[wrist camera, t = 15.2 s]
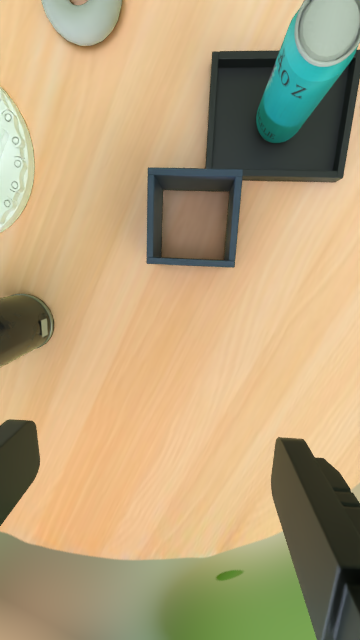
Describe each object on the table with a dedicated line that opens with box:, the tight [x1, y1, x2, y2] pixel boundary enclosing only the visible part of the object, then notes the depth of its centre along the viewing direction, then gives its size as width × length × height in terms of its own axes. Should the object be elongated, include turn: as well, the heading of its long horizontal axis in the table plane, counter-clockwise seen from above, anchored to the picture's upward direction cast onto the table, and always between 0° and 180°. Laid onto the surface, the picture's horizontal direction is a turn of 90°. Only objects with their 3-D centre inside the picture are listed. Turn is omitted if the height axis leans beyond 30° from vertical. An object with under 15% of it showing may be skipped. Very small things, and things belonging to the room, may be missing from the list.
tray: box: [206, 50, 360, 182], centre depth 34 cm, size 18×14×2 cm
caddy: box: [147, 168, 243, 268], centre depth 35 cm, size 11×11×7 cm
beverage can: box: [256, 0, 360, 143], centre depth 27 cm, size 6×6×15 cm
